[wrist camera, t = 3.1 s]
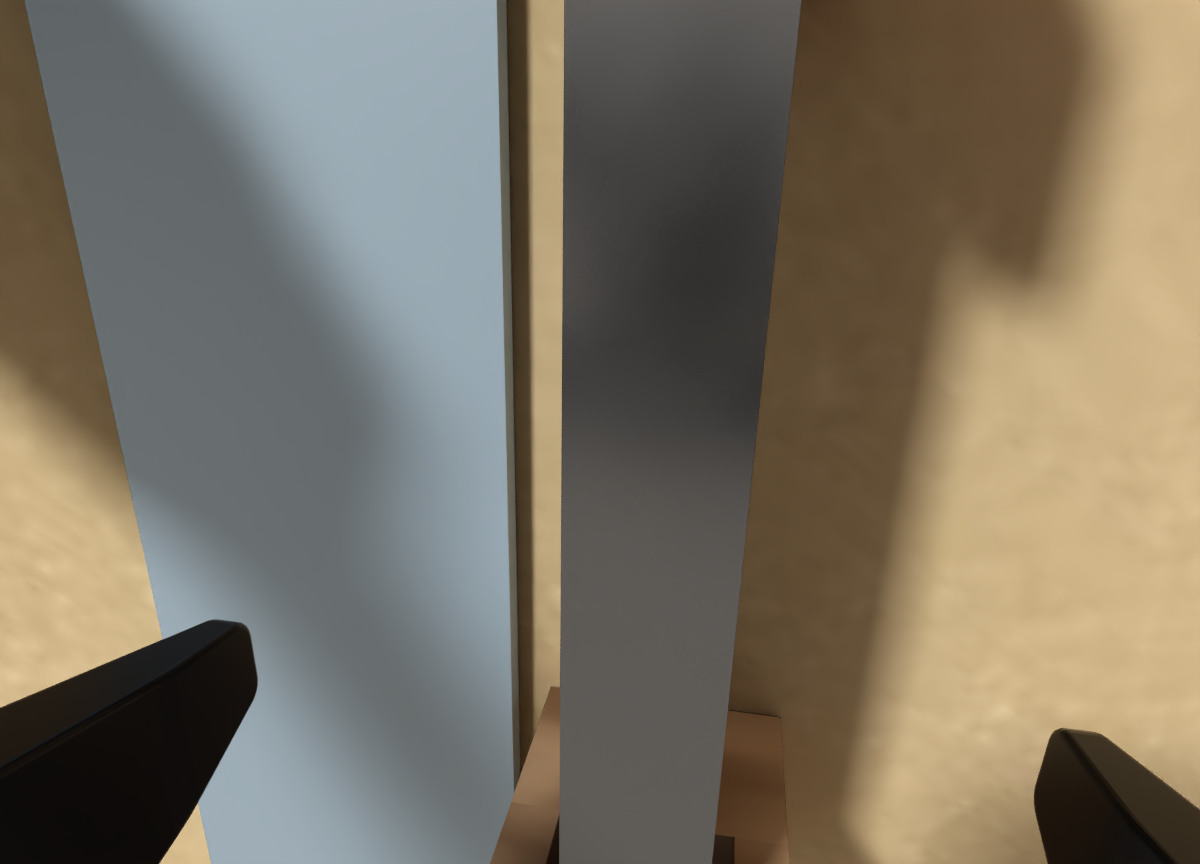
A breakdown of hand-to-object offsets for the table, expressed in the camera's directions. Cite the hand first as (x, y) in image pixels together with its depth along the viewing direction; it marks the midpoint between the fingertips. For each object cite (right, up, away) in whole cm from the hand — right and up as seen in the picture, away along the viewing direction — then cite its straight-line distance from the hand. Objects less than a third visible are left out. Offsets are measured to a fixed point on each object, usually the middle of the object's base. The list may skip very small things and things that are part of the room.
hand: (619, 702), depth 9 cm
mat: (-6, +4, +8) cm, 11 cm away
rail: (+1, +2, +4) cm, 4 cm away
